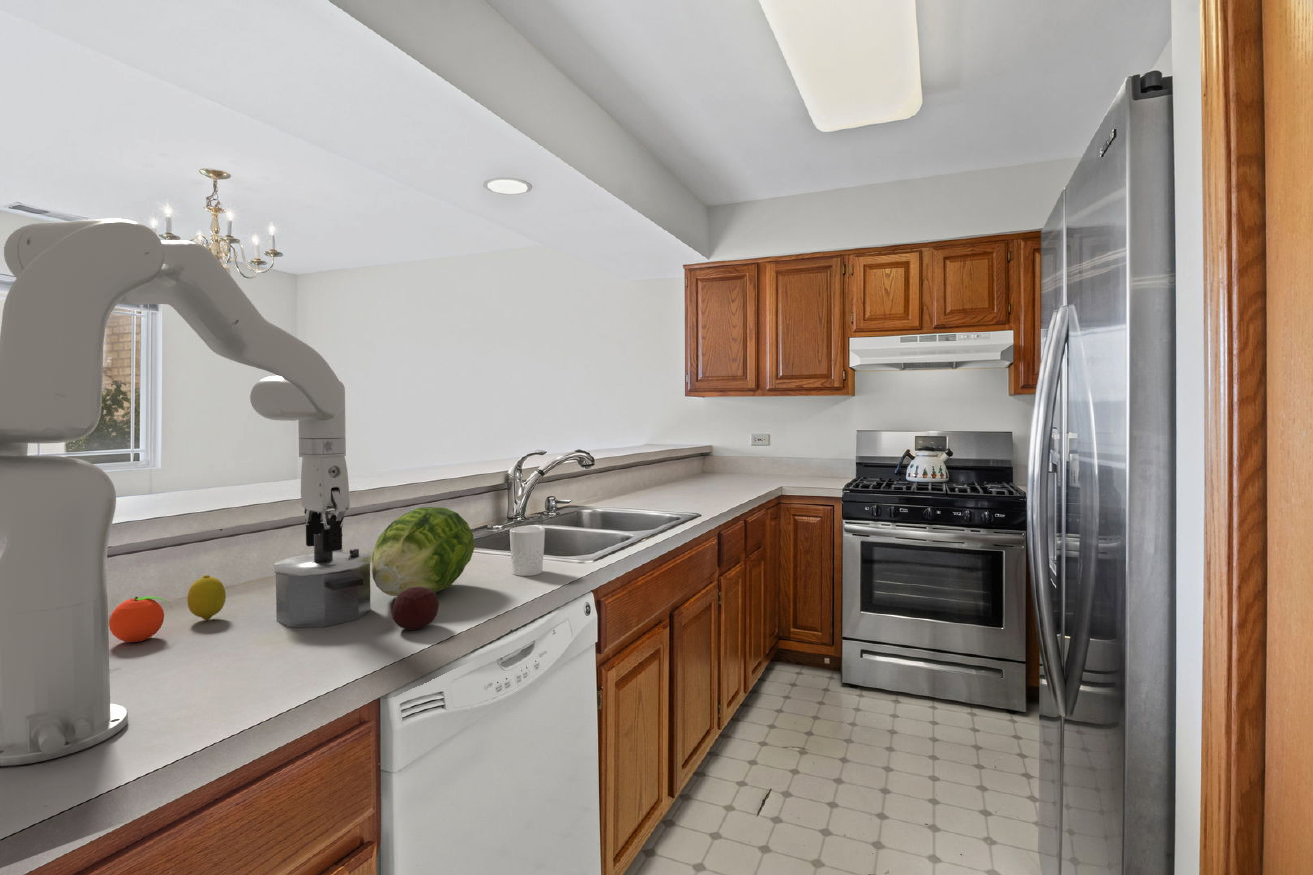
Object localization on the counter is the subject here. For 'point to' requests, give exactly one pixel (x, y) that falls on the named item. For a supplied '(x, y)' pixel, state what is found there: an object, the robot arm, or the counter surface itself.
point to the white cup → (527, 550)
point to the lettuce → (422, 551)
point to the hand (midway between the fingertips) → (323, 546)
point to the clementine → (137, 619)
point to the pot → (322, 598)
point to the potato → (415, 608)
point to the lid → (322, 562)
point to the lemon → (206, 597)
